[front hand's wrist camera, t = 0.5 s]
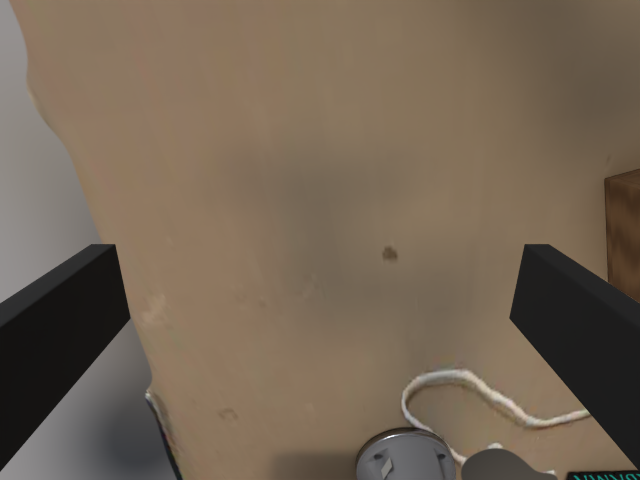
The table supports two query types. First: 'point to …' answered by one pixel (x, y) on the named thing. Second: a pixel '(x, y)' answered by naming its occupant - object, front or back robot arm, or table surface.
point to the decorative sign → (606, 476)
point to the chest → (624, 232)
